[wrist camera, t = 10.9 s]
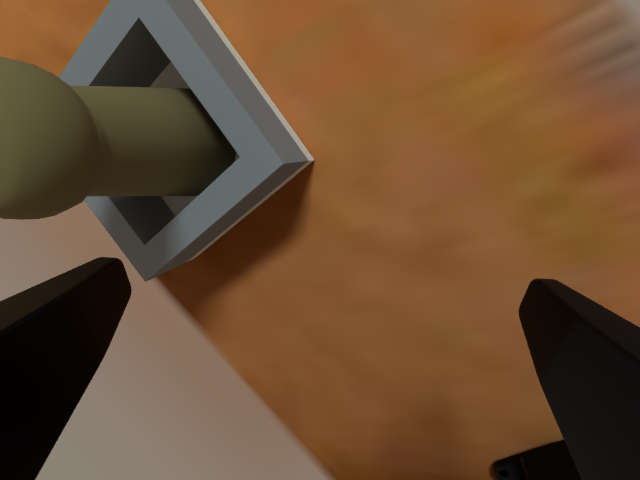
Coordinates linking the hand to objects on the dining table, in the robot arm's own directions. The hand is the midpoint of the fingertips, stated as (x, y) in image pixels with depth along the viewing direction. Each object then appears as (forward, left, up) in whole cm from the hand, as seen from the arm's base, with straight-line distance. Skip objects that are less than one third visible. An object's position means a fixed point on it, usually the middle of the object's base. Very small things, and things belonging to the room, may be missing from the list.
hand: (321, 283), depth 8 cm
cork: (+9, +7, -11) cm, 16 cm away
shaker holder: (+9, +7, -12) cm, 17 cm away
